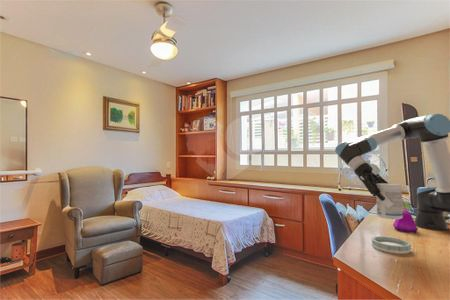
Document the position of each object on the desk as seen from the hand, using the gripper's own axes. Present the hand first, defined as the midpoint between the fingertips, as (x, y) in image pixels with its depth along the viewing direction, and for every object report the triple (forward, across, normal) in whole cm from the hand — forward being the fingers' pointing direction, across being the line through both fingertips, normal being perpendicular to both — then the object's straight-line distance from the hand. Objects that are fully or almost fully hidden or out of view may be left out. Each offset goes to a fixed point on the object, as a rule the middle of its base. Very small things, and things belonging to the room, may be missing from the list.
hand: (396, 205), depth 107 cm
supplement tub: (+2, 0, -7) cm, 7 cm away
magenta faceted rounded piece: (+4, -38, -23) cm, 45 cm away
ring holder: (+11, 0, -16) cm, 19 cm away
